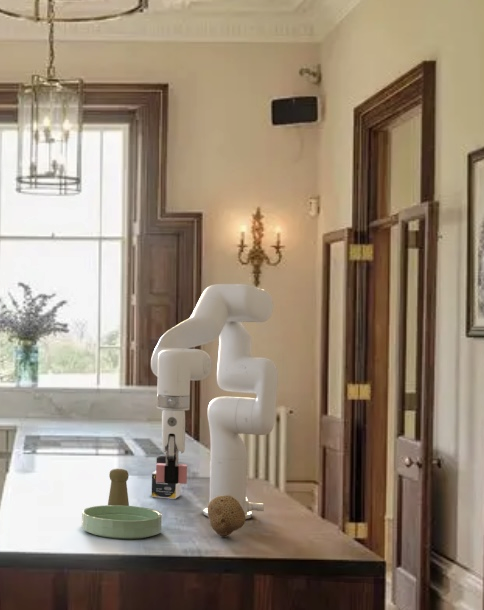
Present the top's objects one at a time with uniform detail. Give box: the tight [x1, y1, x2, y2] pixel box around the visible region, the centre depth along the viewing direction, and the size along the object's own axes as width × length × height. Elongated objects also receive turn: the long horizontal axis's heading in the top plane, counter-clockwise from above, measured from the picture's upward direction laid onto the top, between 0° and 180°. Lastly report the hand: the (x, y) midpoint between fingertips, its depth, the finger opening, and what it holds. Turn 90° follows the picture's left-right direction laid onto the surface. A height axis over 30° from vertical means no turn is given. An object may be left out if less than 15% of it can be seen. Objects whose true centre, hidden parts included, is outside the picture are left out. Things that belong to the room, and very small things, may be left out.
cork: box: [107, 468, 130, 506], centre depth 274 cm, size 6×6×11 cm
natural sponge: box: [206, 495, 246, 538], centre depth 243 cm, size 9×9×10 cm
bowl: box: [81, 504, 163, 540], centre depth 246 cm, size 19×19×4 cm
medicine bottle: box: [151, 454, 182, 500], centre depth 295 cm, size 7×7×12 cm
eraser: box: [155, 463, 188, 485], centre depth 235 cm, size 7×3×4 cm, turn 79°
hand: (171, 481), depth 235 cm, fingers closed on eraser, 3 cm apart
